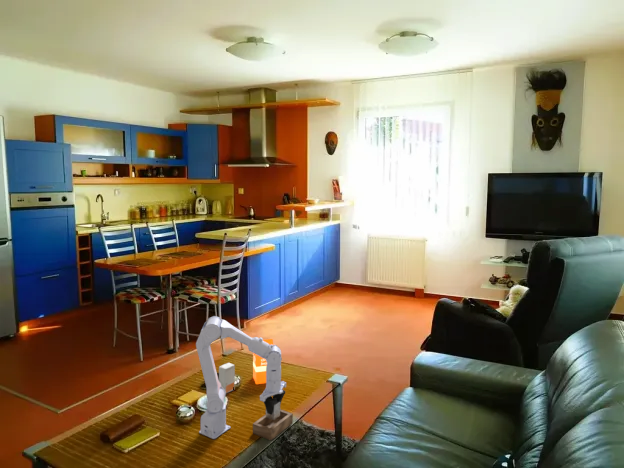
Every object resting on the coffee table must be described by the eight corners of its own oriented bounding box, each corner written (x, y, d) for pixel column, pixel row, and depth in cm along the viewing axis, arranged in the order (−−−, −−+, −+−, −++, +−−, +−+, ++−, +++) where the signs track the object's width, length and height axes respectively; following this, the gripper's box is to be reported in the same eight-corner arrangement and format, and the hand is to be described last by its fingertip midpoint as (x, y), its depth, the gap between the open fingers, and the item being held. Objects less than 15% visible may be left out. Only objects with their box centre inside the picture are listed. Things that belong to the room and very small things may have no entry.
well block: (270, 440, 175) (270, 430, 174) (252, 433, 179) (252, 423, 179) (292, 423, 187) (292, 413, 187) (275, 416, 192) (275, 407, 191)
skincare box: (225, 394, 209) (224, 369, 207) (218, 391, 211) (218, 366, 210) (235, 389, 214) (235, 364, 212) (228, 386, 216) (228, 362, 214)
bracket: (274, 420, 180) (274, 402, 179) (265, 417, 182) (265, 399, 181) (280, 415, 183) (280, 398, 182) (271, 412, 185) (272, 395, 184)
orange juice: (252, 377, 227) (253, 337, 224) (270, 375, 229) (271, 335, 226) (255, 384, 219) (256, 343, 216) (274, 382, 222) (274, 341, 219)
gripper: (270, 388, 172) (270, 422, 174) (292, 373, 184) (292, 406, 186) (255, 383, 176) (255, 416, 178) (278, 369, 188) (277, 401, 190)
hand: (273, 411), depth 182 cm, fingers closed on bracket, 4 cm apart
